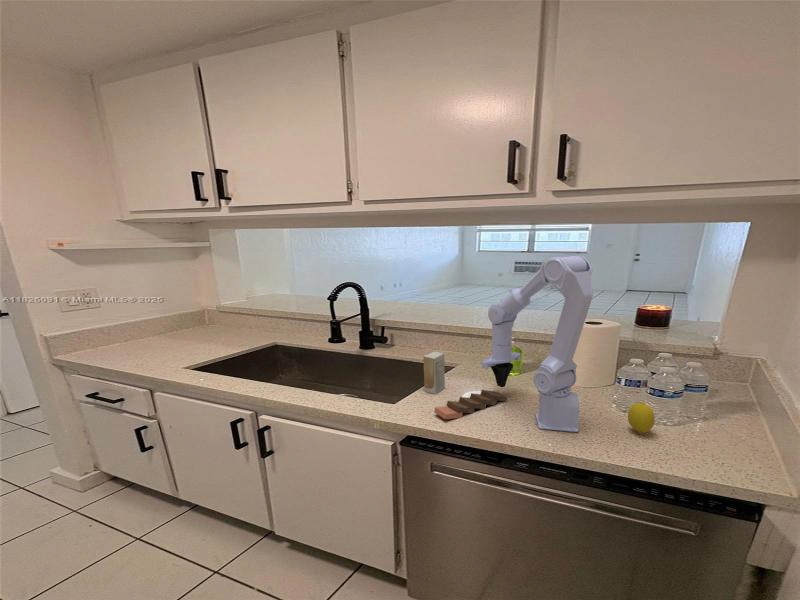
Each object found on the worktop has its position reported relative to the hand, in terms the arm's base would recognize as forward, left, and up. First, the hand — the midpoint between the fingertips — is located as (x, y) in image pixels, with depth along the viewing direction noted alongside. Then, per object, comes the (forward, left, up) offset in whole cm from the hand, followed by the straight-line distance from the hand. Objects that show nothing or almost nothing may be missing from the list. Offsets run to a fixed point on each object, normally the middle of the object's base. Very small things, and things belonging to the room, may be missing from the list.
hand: (501, 385), depth 112 cm
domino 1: (+12, +12, -3) cm, 18 cm away
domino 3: (+6, +6, -3) cm, 9 cm away
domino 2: (+9, +9, -3) cm, 14 cm away
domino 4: (+3, +3, -3) cm, 6 cm away
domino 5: (0, 0, -3) cm, 3 cm away
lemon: (-33, +14, -4) cm, 36 cm away
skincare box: (+21, -3, -4) cm, 22 cm away
